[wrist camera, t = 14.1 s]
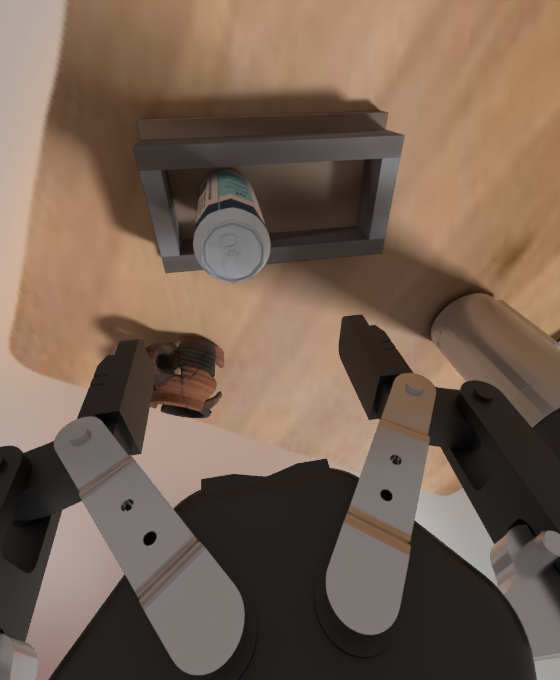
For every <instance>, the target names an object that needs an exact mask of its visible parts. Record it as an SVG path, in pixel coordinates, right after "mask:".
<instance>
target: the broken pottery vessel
mask: <svg viewBox="0 0 560 680" xmlns="http://www.w3.org/2000/svg"><path fill="white" fill-rule="evenodd" d="M146 350H147V353H148V355H149V358H150V361H151V364H152V367H153V370H154V386H153V392H152V397H151V403H150V407H153V408H156V407H157V404H162V407H161V412H164V413H167V414H172V415H175V416H181V417H188V418H207V417H209V416H210V414H211V413H212V412H211V411H210V409H211V408H212V407H213V406H214V405H215V404H217V402H218V401H219V399H220V398H221V396H222V393H221V391H220V392H218V393H217V394H216V396H214V397H212V398H210V399H208V398H209V397H210V396H211V395H212V394H213V392H214V391H215V390H216V385H217V384H216V381H215V379H214V378H213V377H214V376H215V364H216V365H218V366H219V367H220V368H222V367H224V352H223V350H222V349H221V348H219V347H218V346H216V345H214V344H213V343H210V342H208V341H207V340H203V339H200V338H196V337H187V336H186V337H183V338H182V341H181V343H180V344H179V346H178V347H176V345H174V344H172V343H168V344H162V343H156V344H153V345H150V346H148V347H147V348H146ZM178 367H180V368H181V375H174V369H176V368H178Z"/></svg>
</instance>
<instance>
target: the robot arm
mask: <svg viewBox="0 0 560 680" xmlns="http://www.w3.org/2000/svg"><path fill="white" fill-rule="evenodd" d="M431 339H432V341H433V343H434V344H435V345H436V346H437V347H438V349H439V350H440V351H441V352H442V353H443V355H444V356H445V357H446V358H447V359H448V361H449V362H450V363H451V364H452V365H453V367H454V368H455V369H456V370H457V371H458V373H459V374H460V375H461V376H462V377H463V378H464V380H465V381H466V382H465V383H464V384H463V385H462V386H461V388H460V390H454V389H445V388H438V387H435V386H434V385H433V383H432V382H431V381H430V380H428V379H427V378H425V377H423V376H421V375H419V374H415V373H413V372H412V370H411V369H410V368H409V366H408V365H407V363H406V362H405V360H404V359H403V357H402V356H401V354H400V353H399V352H398V350H397V349H396V348H395V346H394V344H393V343H392V342H391V340H390V339H389V337H388V336H387V334H386V333H385V332H384V331H383V330H381V329H380V328H379V327H377V326H376V325H371V326H369V324H368V323H367V321H366V320H365V318H364V317H363V315H352V316H344V317H343V318H342V323H341V331H340V339H339V355H340V359H341V361H342V363H343V365H344V367H345V370H346V372H347V374H348V376H349V378H350V380H351V382H352V385H353V387H354V389H355V391H356V393H357V395H358V397H359V400H360V402H361V404H362V406H363V408H364V410H365V412H366V415H367V417H368V419H369V420H372V419H379V420H380V421H379V424H378V427H377V430H376V433H375V435H374V438H373V441H372V444H371V447H370V450H369V453H368V456H367V458H366V461H365V464H364V467H363V470H362V473H361V476H360V478H359V477H357V476H355V475H353V474H351V473H349V472H346V471H343V470H339V469H333V468H329V465H328V461H327V459H322V460H316V461H310V462H304V463H298V464H295V465H293V466H291V467H288V468H286V469H284V470H282V471H279V472H277V473H275V474H272V475H270V476H267V477H262V476H249V475H238V474H231V475H225V476H219V477H213V478H207V479H202V480H201V490H199V491H197V492H195V493H193V494H192V495H190V496H188V497H187V498H185V499H184V500H182V501H181V502H180V503H179V504H178V505H177V506H176V507H175V508H174V509H173V508H172V507H171V506H170V504H169V503H168V502H167V501H166V499H165V498H164V497H163V495H162V494H161V493H160V492H159V490H158V489H157V488H156V486H155V485H154V484H153V483H152V481H151V480H150V479H149V478H148V476H147V475H146V474H145V472H144V471H143V470H142V469H141V467H140V466H139V465H138V464H137V462H136V461H135V460H134V459H133V458H132V457H131V456H130V455H137V454H141V452H142V446H143V441H144V435H145V429H146V425H147V419H148V413H149V408H150V403H151V397H152V392H153V386H154V370H153V367H152V364H151V361H150V358H149V355H148V353H147V350H146V347H145V344H144V342H143V340H142V339H133V340H124V341H120V342H119V344H118V347H117V350H116V353H115V355H108V356H106V357H105V359H104V360H103V361H102V362H101V363H100V364H99V365H98V366H97V369H96V371H95V374H94V378H93V379H92V382H91V384H90V387H89V389H88V392H87V395H86V397H85V400H84V402H83V405H82V407H81V410H80V412H79V415H78V418H77V420H74V421H72V422H70V423H69V424H67V425H66V426H65V427H63V429H61V430H60V432H59V433H58V434H57V436H56V438H55V440H54V441H53V442H51V443H48V444H46V445H43V446H41V447H38V448H35V449H33V450H30V451H28V452H25V453H23V452H22V451H21V450H20V449H19V448H17V447H15V446H3V447H0V680H36V673H37V666H38V662H37V661H38V660H37V654H36V651H35V649H34V648H33V647H32V646H31V645H30V644H28V643H26V642H25V640H26V637H27V633H28V630H29V626H30V623H31V619H32V615H33V612H34V608H35V605H36V601H37V598H38V594H39V591H40V587H41V583H42V580H43V576H44V573H45V569H46V566H47V562H48V559H49V555H50V551H51V548H52V544H53V541H54V537H55V533H56V530H57V527H58V523H59V519H60V516H61V512H62V510H63V509H65V508H67V507H69V506H71V505H74V504H76V503H78V502H80V501H83V503H84V505H85V506H86V508H87V510H88V511H89V514H90V515H91V517H92V519H93V520H94V522H95V523H96V526H97V527H98V529H99V531H100V532H101V534H102V536H103V538H104V539H105V541H106V543H107V544H108V546H109V548H110V550H111V551H112V553H113V555H114V556H115V558H116V560H117V562H118V563H119V565H120V567H121V568H122V570H123V572H124V576H123V577H122V579H121V580H120V581H119V583H118V584H117V586H116V587H115V588H114V590H113V591H112V592H111V594H110V595H109V597H108V598H107V599H106V601H105V602H104V603H103V605H102V606H101V608H100V609H99V610H98V612H97V613H96V614H95V616H94V617H93V619H92V620H91V621H90V623H89V624H88V625H87V627H86V628H85V630H84V631H83V632H82V634H81V635H80V637H79V638H78V639H77V641H76V642H75V644H74V645H73V646H72V648H71V649H70V650H69V652H68V653H67V654H66V656H65V657H64V658H63V660H62V661H61V663H60V664H59V665H58V667H57V668H56V669H55V671H54V673H53V674H52V675H51V677H50V678H49V680H537V679H536V672H535V666H534V661H539V660H545V659H552V658H558V657H560V350H559V349H560V345H559V343H558V342H557V341H555V340H554V339H553V338H551V337H550V336H549V335H548V334H546V333H545V332H544V331H542V330H541V329H540V328H538V327H537V326H536V325H534V324H533V323H532V322H530V321H529V320H528V319H526V318H525V317H524V316H522V315H521V314H520V313H519V312H517V311H516V310H515V309H513V308H512V307H511V306H509V305H508V304H507V303H505V302H504V301H503V300H495V299H494V298H493V297H491V296H490V295H487V294H483V293H475V294H470V295H466V296H464V297H461V298H459V299H457V300H455V301H454V302H452V303H451V304H449V305H448V306H447V307H446V308H444V309H443V311H442V312H441V313H440V314H439V315H438V316H437V318H436V319H435V321H434V323H433V325H432V328H431ZM429 445H432V446H439V447H441V449H442V451H443V452H444V454H445V456H446V458H447V460H448V461H449V463H450V465H451V467H452V469H453V470H454V472H455V474H456V476H457V478H458V479H459V481H460V483H461V485H462V487H463V488H464V490H465V492H466V494H467V496H468V497H469V499H470V501H471V503H472V505H473V506H474V508H475V510H476V512H477V513H478V515H479V517H480V519H481V521H482V523H483V524H484V526H485V528H486V530H487V532H488V533H489V535H490V537H491V539H492V541H493V543H494V544H495V545H494V546H493V547H492V549H491V552H490V560H491V565H492V567H493V570H494V572H495V577H496V579H497V584H498V588H497V586H496V585H495V584H494V583H493V582H492V581H490V580H489V579H488V578H487V577H486V576H485V575H483V574H482V573H481V572H480V571H478V570H477V569H476V568H474V567H473V566H472V565H471V564H469V563H468V562H467V561H466V560H464V559H463V558H462V557H461V556H459V555H458V554H457V553H455V552H454V551H453V550H452V549H450V548H449V547H448V546H446V545H445V544H444V543H443V542H441V541H440V540H439V539H438V538H436V537H435V536H434V535H432V534H431V533H430V532H429V531H427V530H426V529H425V528H424V527H422V526H421V525H420V524H418V523H417V522H416V521H415V520H414V519H415V514H416V509H417V503H418V499H419V493H420V488H421V483H422V478H423V473H424V468H425V463H426V457H427V452H428V447H429Z"/></svg>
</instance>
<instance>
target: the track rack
mask: <svg viewBox="0 0 560 680" xmlns="http://www.w3.org/2000/svg"><path fill="white" fill-rule="evenodd" d="M387 117H388V112H383V111H366V112H337V113H308V114H279V115H250V116H221V117H192V118H163V119H139V120H138V121H136V122H137V126H138V130H139V134H140V139H141V140H140V141H139V142H138V143H137V144H136V145H135V146H134V147H133V150H134V154H135V158H136V162H137V166H138V169H139V173H140V177H141V181H142V185H143V188H144V192H145V196H146V200H147V204H148V208H149V211H150V215H151V219H152V223H153V227H154V231H155V234H156V238H157V242H158V246H159V250H160V253H161V257H162V261H163V265H164V269H165V273H173V272H184V271H195V270H204V269H203V268H202V267H201V266H200V264H199V262H198V261H197V259H196V256H195V253H194V248H193V239H194V232H195V224H196V216H197V208H198V200H199V192H200V187H201V184H202V183H203V181H204V179H205V178H206V177H207V176H208V175H209V174H210V173H211V172H214V171H216V170H218V169H224V168H226V169H233V170H235V171H237V172H240V173H241V174H243V175H244V176H245V177H246V178H247V179H248V180H249V182H250V184H251V185H252V188H253V190H254V193H255V196H256V199H257V202H258V205H259V207H260V210H261V213H262V216H263V219H264V222H265V225H266V228H267V231H268V234H269V237H270V244H271V247H270V254H269V258H268V260H267V262H266V264H273V263H284V262H295V261H306V260H317V259H328V258H339V257H350V256H361V255H372V254H382V250H383V245H384V239H385V234H386V229H387V224H388V219H389V213H390V208H391V203H392V198H393V193H394V187H395V182H396V177H397V172H398V167H399V162H400V156H401V151H402V146H403V141H404V136H405V135H402V134H398V133H395V132H392V131H388V130H386V123H387Z"/></svg>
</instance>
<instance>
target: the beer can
mask: <svg viewBox="0 0 560 680" xmlns="http://www.w3.org/2000/svg"><path fill="white" fill-rule="evenodd" d="M270 247H271V244H270V237H269V234H268V231H267V228H266V225H265V222H264V219H263V216H262V213H261V210H260V207H259V205H258V202H257V199H256V196H255V193H254V190H253V188H252V185H251V184H250V182H249V180H248V179H247V178H246V177H245V176H244V175H243V174H241V173H240V172H237V171H235V170H233V169H226V168H224V169H218V170H216V171H214V172H211V173H210V174H209V175H208V176H207V177H206V178H205V179H204V181H203V183H202V184H201V187H200V192H199V200H198V208H197V216H196V224H195V232H194V239H193V248H194V253H195V256H196V259H197V261H198V262H199V264H200V266H201V267H202V268H203V269H204V270H205V271H206V272H207V273H208V274H209V275H211V276H212V277H214V278H216V279H219V280H222V281H226V282H230V283H237V282H241V281H244V280H247V279H251V278H253V276H255V275H256V274H257V273H258V272H259V271H260V270H261V269H262V268H263V267H264V266H265V264H266V262H267V260H268V258H269V254H270Z"/></svg>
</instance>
